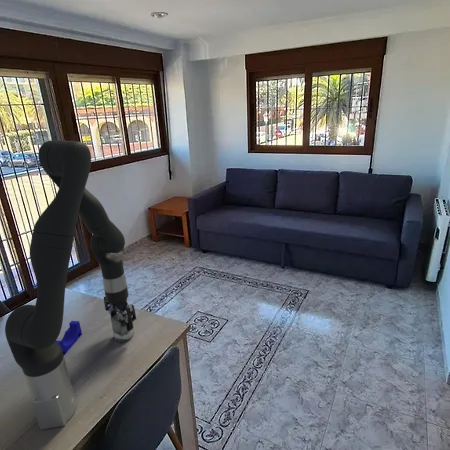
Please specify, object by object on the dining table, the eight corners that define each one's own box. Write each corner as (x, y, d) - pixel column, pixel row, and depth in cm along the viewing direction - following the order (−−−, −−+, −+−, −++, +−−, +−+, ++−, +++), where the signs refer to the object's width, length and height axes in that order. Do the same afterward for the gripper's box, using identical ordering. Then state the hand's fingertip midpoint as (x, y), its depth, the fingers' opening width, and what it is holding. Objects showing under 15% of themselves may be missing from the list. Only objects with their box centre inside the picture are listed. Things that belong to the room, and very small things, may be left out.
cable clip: (71, 333, 118) (67, 320, 116) (82, 334, 117) (79, 321, 115) (50, 357, 107) (46, 343, 105) (62, 358, 106) (58, 344, 104)
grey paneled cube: (133, 328, 115) (131, 315, 113) (121, 336, 111) (119, 322, 109) (124, 324, 118) (122, 310, 116) (113, 331, 114) (110, 317, 112)
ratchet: (133, 340, 113) (130, 325, 111) (112, 343, 112) (109, 328, 110) (136, 317, 125) (134, 303, 123) (118, 320, 124) (115, 306, 122)
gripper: (137, 287, 107) (143, 326, 113) (111, 276, 115) (118, 313, 121) (119, 297, 102) (126, 338, 107) (93, 285, 109) (101, 324, 115)
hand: (122, 325), depth 114 cm, fingers open, 8 cm apart
